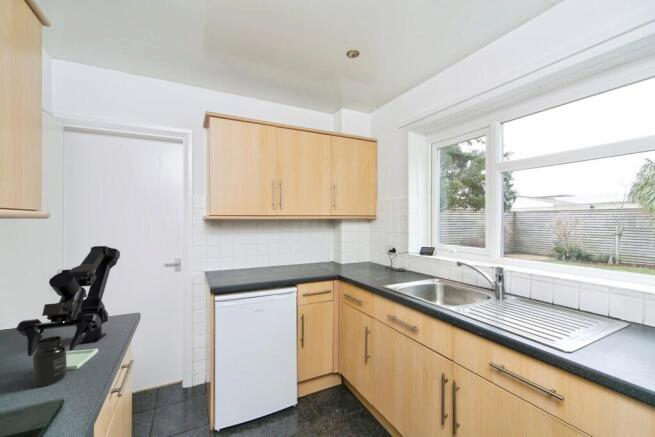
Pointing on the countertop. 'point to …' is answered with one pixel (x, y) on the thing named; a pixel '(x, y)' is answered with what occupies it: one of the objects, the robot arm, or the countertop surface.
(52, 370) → the supplement bottle
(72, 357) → the sage tray
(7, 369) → the countertop surface
